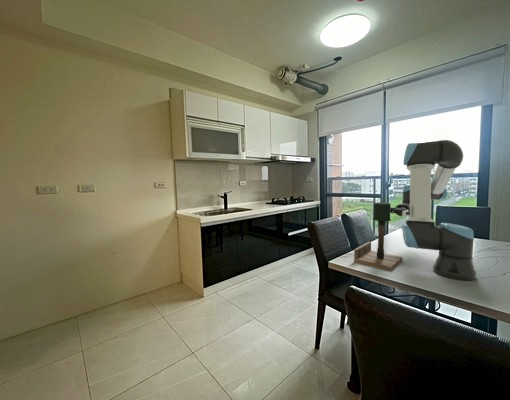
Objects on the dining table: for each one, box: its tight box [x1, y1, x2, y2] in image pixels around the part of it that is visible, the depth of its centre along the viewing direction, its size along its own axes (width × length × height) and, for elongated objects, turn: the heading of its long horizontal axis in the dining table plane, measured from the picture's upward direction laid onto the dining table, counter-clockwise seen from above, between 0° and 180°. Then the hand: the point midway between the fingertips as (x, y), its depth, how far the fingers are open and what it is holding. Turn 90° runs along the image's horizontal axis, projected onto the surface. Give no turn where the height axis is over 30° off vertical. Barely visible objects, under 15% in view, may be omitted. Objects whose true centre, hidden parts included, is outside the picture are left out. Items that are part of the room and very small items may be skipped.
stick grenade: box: [372, 202, 392, 259], centre depth 122 cm, size 8×9×30 cm
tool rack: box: [353, 241, 403, 272], centre depth 124 cm, size 20×18×7 cm
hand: (389, 212), depth 128 cm, fingers open, 13 cm apart
